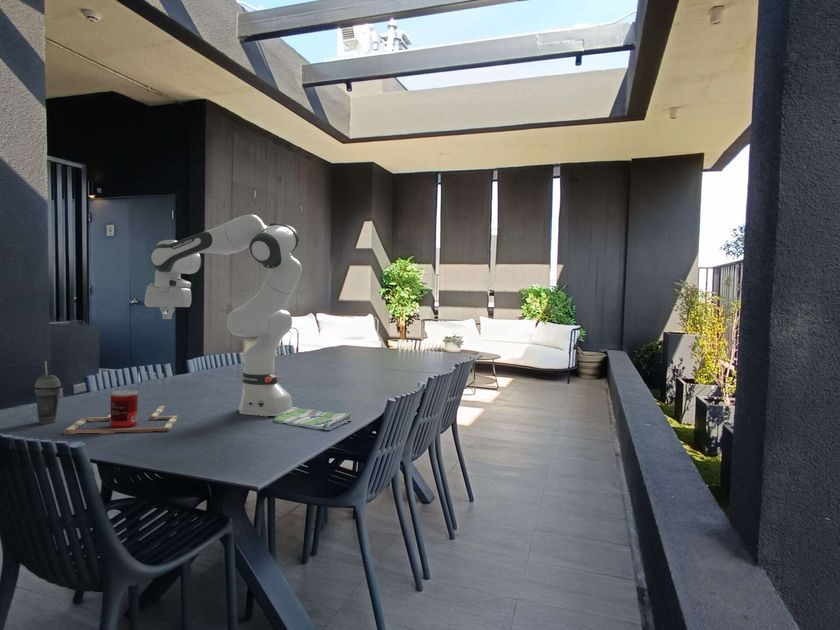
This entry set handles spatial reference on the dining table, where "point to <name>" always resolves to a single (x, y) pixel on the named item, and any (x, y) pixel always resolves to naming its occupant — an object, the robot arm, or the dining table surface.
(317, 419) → the dish towel
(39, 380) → the beverage cup
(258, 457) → the dining table surface
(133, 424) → the canned food
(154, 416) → the t outline
